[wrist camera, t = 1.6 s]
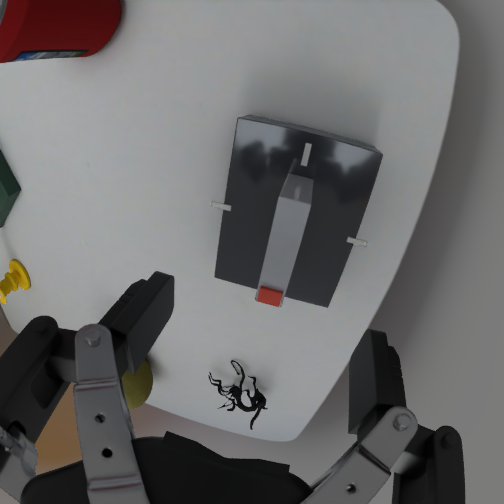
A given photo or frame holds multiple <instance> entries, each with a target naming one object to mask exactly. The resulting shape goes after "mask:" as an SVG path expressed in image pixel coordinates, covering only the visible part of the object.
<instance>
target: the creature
mask: <svg viewBox="0 0 504 504" xmlns="http://www.w3.org/2000/svg"><path fill="white" fill-rule="evenodd" d="M232 362H236V361H234V360H232V361H231V364H232ZM236 363H237V364H238V362H236ZM232 365H233V364H232ZM238 365H239V364H238ZM239 366H240V365H239ZM233 367H234V365H233ZM234 368H235V367H234ZM240 368H241V372H242V379H241V382H240V385H239V387H238V386H235V385H234V384H233V385H232V386H233V387H232V388H231V389H230V390H229V391H230V392H229V391H224V390H222V386H221V380H214V379H212V380H213V381H215V382H219V384H216V383H212V382H211V379H210V376H211V373H210V372H209V373H210V376H209V375H208V376H209V379H210V382H211V384H213V385H214V386H218V392H219V393H220V395H223V394H224V393H223V394H221V391H222V392H229V393H228V394H227V395H229V394H230V393H232V395H231V397H232V396H233V397H234V398H235V399H236V401H237V404H236V403H235V399H231V397H230V398H228V397H227V396H226V398H228V399H229V400H231V401H232V403H231V404H233V407H232V408H231V409H227V411H233V410H234V409H235V405H236V406H238V407H239V408H240V409H242V410H243V411H245V412H250V411H255V410H256V409H257V408H258V410H257V412H256V414H255V416H254V417H253V418H252V420H251V423H250V429H251V430H253V429H252V425H253V422H254V420H255V419H256V418H257V417H258V415H259V413H260V411H261V409H268V408H265V407H264V406H265V405H266V398H265V397H264V396H263V394H262V393H260V392H259V390H258V388H257V389H256V385H255V383H256V378H255V377H250V378H253V380H254V381H253V385H254V388H255V394H254V396H253V397H250V391H249V390H244V391H247V395H248V397H249V398H250V401H251V404H252V406H251V407H246V406H244V405H243V403H242V402H241V394H242V384H243V381H244V379H245V375H246V374H244V371H243V369H242V367H241V366H240ZM235 370H236V369H235ZM236 372H237V370H236ZM237 374H238V375H239V373H238V372H237ZM248 377H249V376H248ZM211 378H212V376H211ZM229 387H231V386H229ZM226 388H228V387H226ZM223 396H225V395H223ZM256 401H258V402H257V404H256ZM226 403H227V402H226ZM226 403H225V404H226ZM225 404H224V405H223V406H222V407H225ZM231 404H230V405H231ZM227 406H229V405H227ZM222 407H220V408H222ZM218 409H219V408H218Z"/></svg>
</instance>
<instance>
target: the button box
mask: <svg viewBox="0 0 504 504" xmlns="http://www.w3.org/2000/svg"><path fill="white" fill-rule="evenodd" d="M20 191H21V189H20V187H19V185H18V183H17V181H16V180H15V178H14V176H13V174H12V172H11V170H10V168H9V166H8V164H7V162H6V160H5V158H4V156H3V154H2V152H1V150H0V228H1V227H3V225H4V223H5V220H6V218H7V216H8V214H9V212H10V210H11V208H12V206H13V204H14V202H15V200H16V198H17V196H18V195H19V193H20Z"/></svg>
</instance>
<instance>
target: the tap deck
mask: <svg viewBox="0 0 504 504" xmlns="http://www.w3.org/2000/svg"><path fill="white" fill-rule="evenodd" d="M382 157H383V154H382V153H381V152H380V151H379V150H378V149H377V148H376V147H375V146H372V145H369V144H366V143H363V142H359V141H356V140H353V139H349V138H346V137H343V136H339V135H336V134H332V133H328V132H325V131H321V130H317V129H313V128H309V127H305V126H301V125H297V124H292V123H288V122H284V121H279V120H274V119H269V118H264V117H259V116H254V115H246V116H242V117H239V118H238V119H237V125H236V131H235V137H234V143H233V149H232V155H231V162H230V168H229V175H228V181H227V188H226V195H225V201H224V204H223V203H219V202H214V201H211V207H215V208H219V209H223V215H222V223H221V230H220V237H219V245H218V252H217V260H216V268H215V276H214V277H215V278H218V279H222V280H225V281H229V282H233V283H236V284H240V285H243V286H247V287H251V288H254V289H257V288H258V284H259V280H260V276H261V271H262V267H263V263H264V258H265V254H266V250H267V245H268V241H269V237H270V232H271V228H272V224H273V219H274V215H275V210H276V206H277V201H278V197H279V195H280V192H281V190H282V187H283V185H284V183H285V180H286V178H287V176H288V174H289V173H290V174H294V175H298V176H302V177H306V178H309V179H313V180H314V182H313V193H312V203H311V208H310V212H309V216H308V219H307V223H306V226H305V230H304V233H303V237H302V240H301V244H300V247H299V251H298V254H297V257H296V261H295V264H294V267H293V271H292V274H291V277H290V281H289V284H288V287H287V291H286V294H285V297H288V298H292V299H295V300H299V301H303V302H307V303H311V304H315V305H319V306H323V307H327V308H328V306H329V304H330V301H331V299H332V297H333V294H334V292H335V289H336V287H337V285H338V282H339V280H340V277H341V275H342V272H343V270H344V267H345V265H346V262H347V259H348V257H349V254H350V252H351V249H352V246H353V244H357V245H360V246H364V247H366V246H367V243H368V242H367V241H364V240H360V239H357V238H356V236H357V233H358V230H359V227H360V225H361V222H362V219H363V216H364V213H365V210H366V207H367V204H368V201H369V198H370V195H371V192H372V189H373V186H374V183H375V180H376V177H377V173H378V170H379V167H380V164H381V160H382Z"/></svg>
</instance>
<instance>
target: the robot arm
mask: <svg viewBox="0 0 504 504" xmlns="http://www.w3.org/2000/svg"><path fill="white" fill-rule="evenodd" d="M173 308H174V276H172V275H168V274H165V273H162V272H159V271H155V272H154V273H153V274H152V276H151V277H150V278H149V279H148V280H147V281H146V280H143V279H141V280H139V281H137V282H135V283H133V284H132V285H131V286H130V287H129V288H128V289H127V290H126V291H125V293H124V294H123V295H122V296H121V297H120V298H119V300H117V302H116V303H115V304H114V305H113V306H112V307H111V309H110V310H109V311H108V312H107V313H106V314H105V316H104V317H103V318H102V319H101V320H100V321H99V323H98V324H89V325H86V326H84V327H82V328H81V329H79V330H78V331H74V330H68V329H62V328H59V327H58V324H57V322H56V320H55V319H54V318H52V317H50V316H39V317H36V318H34V319H33V320H31V321H30V322H29V323H28V324H27V326H26V327H25V328H24V329H23V330H22V331H21V333H20V334H19V335H18V336H17V337H16V339H15V340H14V341H13V342H12V343H11V345H10V346H9V347H8V348H7V350H6V351H5V352H4V353H3V354H2V356H1V357H0V488H2V489H3V490H4V491H5V492H6V493H8V494H9V495H10V496H12V497H13V498H14V499H16V500H17V501H18V502H19V503H20V504H368V503H369V502H370V501H371V499H372V498H373V497H374V496H375V495H376V494H377V493H378V491H379V490H380V489H381V488H382V486H383V485H384V484H385V483H386V481H387V480H388V478H389V477H390V475H391V472H390V471H393V472H394V482H393V495H392V504H465V478H464V462H463V450H462V441H461V437H460V435H459V433H458V432H457V431H456V430H455V429H454V428H453V427H451V426H442V427H440V428H439V429H437V430H436V431H433V430H430V429H428V428H425V427H423V426H421V425H419V424H418V422H417V419H416V417H415V415H414V414H413V413H412V412H411V411H410V410H409V409H407V407H406V399H405V391H404V384H403V378H402V372H401V369H400V368H401V365H400V359H399V356H398V354H397V352H396V351H395V349H394V347H392V346H388V342H387V336H386V333H385V332H382V331H377V330H373V329H367V330H366V331H365V333H364V335H363V336H362V338H361V340H360V342H359V343H358V345H357V347H356V348H355V350H354V352H353V354H352V356H351V359H350V363H349V425H348V433H349V434H357V441H356V442H355V443H354V444H353V445H352V447H350V448H349V449H348V450H347V452H346V453H345V454H344V455H343V456H342V457H341V458H340V459H339V460H338V461H337V462H336V463H335V464H334V465H332V467H330V468H329V469H328V470H327V471H326V472H325V473H324V474H323V475H322V476H320V477H319V478H318V479H317V480H316V481H314V482H313V483H312V484H311V485H310V486H309V485H308V484H307V483H306V482H304V481H303V480H302V479H300V478H299V477H297V476H296V475H294V474H292V473H290V472H289V467H290V465H287V464H281V463H276V462H271V461H266V460H262V459H233V458H232V459H231V458H225V457H222V456H221V455H219V454H217V453H215V452H213V451H212V450H210V449H208V448H206V447H205V446H203V445H201V444H200V443H198V442H196V441H193V440H191V439H187V438H185V437H182V436H179V435H176V434H174V433H171V432H168V431H167V432H166V434H165V436H164V437H154V436H150V437H141V438H137V437H136V434H135V430H134V427H133V424H132V420H131V416H130V412H129V408H128V404H127V399H126V395H125V390H124V385H123V380H122V377H123V375H124V373H125V372H126V371H129V372H131V373H133V374H135V373H136V372H137V370H138V368H139V367H140V365H141V363H142V362H143V360H144V359H145V357H146V355H147V354H148V352H149V350H150V349H151V347H152V346H153V344H154V342H155V341H156V339H157V338H158V336H159V335H160V333H161V331H162V330H163V328H164V327H165V325H166V323H167V322H168V320H169V319H170V317H171V315H172V312H173ZM71 382H74V383H77V384H76V385H74V387H73V394H74V405H75V414H76V422H77V429H78V436H79V442H80V448H81V454H82V458H83V460H81V461H78V462H76V463H72V464H70V465H67V466H64V467H61V468H58V469H55V470H52V471H49V472H46V473H43V474H40V475H37V476H36V473H35V466H36V465H37V458H38V453H37V449H36V447H35V445H34V444H35V442H36V441H37V439H38V437H39V435H40V434H41V432H42V430H43V428H44V426H45V425H46V423H47V421H48V420H49V418H50V416H51V414H52V413H53V411H54V409H55V408H56V406H57V404H58V403H59V401H60V399H61V398H62V396H63V395H64V393H65V391H66V390H67V388H68V386H69V385H70V383H71Z"/></svg>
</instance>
